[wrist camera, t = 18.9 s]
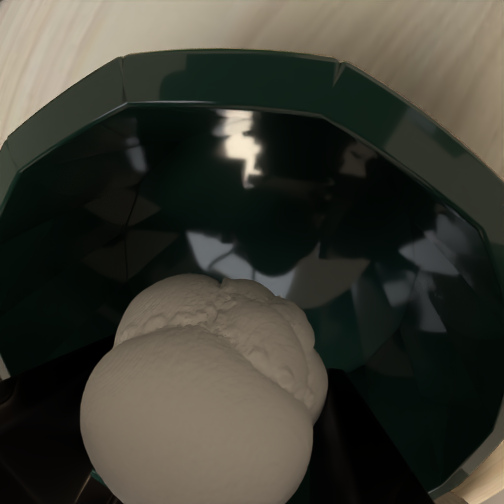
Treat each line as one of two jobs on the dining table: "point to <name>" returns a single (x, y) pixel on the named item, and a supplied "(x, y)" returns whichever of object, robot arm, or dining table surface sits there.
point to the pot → (269, 229)
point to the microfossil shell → (205, 396)
